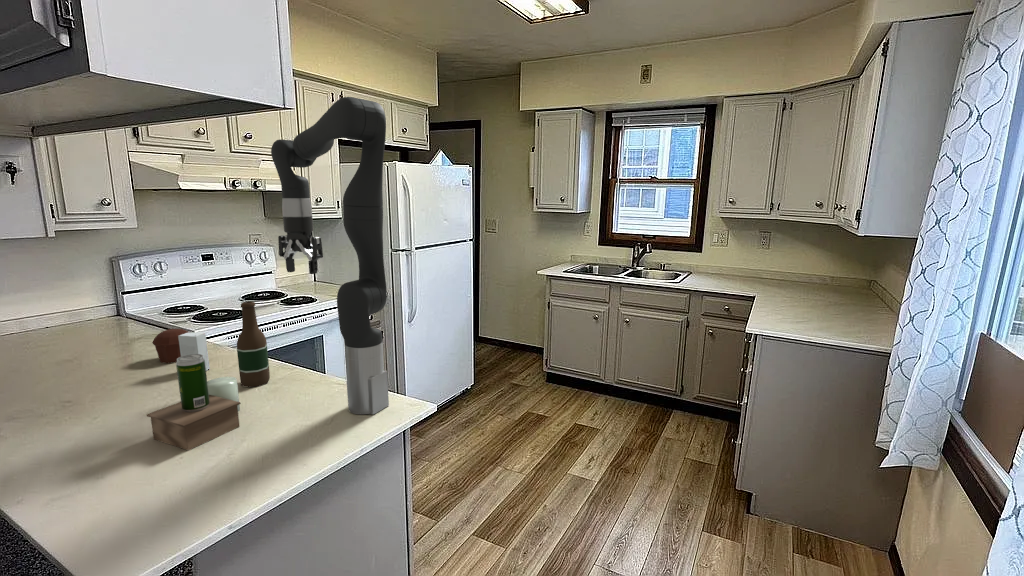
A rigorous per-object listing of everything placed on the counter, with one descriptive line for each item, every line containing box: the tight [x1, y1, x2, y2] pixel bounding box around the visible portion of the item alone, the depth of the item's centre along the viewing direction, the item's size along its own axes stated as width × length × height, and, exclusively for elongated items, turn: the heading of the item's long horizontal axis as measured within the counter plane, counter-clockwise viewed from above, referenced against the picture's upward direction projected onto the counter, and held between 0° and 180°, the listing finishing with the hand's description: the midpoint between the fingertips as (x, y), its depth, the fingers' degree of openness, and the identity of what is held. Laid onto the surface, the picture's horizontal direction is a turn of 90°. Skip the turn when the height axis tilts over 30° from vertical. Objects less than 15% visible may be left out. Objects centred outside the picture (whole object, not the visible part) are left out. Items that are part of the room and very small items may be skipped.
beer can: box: [175, 354, 210, 412], centre depth 110 cm, size 5×5×12 cm
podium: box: [146, 395, 241, 451], centre depth 111 cm, size 13×13×6 cm
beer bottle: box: [236, 300, 271, 388], centre depth 140 cm, size 8×8×24 cm
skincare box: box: [178, 331, 211, 372], centre depth 150 cm, size 6×4×12 cm
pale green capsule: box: [207, 376, 241, 413], centre depth 122 cm, size 7×7×8 cm
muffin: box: [151, 328, 189, 364], centre depth 162 cm, size 12×11×10 cm
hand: (302, 272), depth 138 cm, fingers open, 8 cm apart
